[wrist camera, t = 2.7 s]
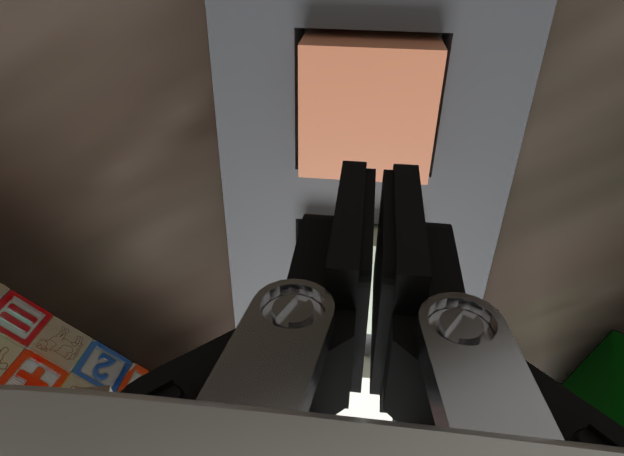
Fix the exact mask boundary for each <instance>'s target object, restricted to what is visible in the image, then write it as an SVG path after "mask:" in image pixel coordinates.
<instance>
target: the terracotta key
mask: <svg viewBox="0 0 624 456" xmlns="http://www.w3.org/2000/svg"><path fill="white" fill-rule="evenodd" d="M447 51H448V50H447V48H446V46H445V44H444V42H443V40H442V38H441V36H440V34H439V33H434V32H405V31H376V30H347V29H318V28H307V30H306V32H305V33H304V35H303V37H302V39H301V40H300V42H299V44H298V177H303V178H320V179H336V180H340V175H341V169H342V163H343V160H344V161H360V162H367V167H366V168H370V169H376V182H382V180H383V171H384V169H386V170H393V165H394V164H409V165H419V172H420V180H421V185H428V178H429V172H430V165H431V158H432V152H433V145H434V138H435V131H436V125H437V118H438V111H439V105H440V98H441V91H442V85H443V78H444V71H445V65H446V58H447Z"/></svg>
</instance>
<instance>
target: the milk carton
mask: <svg viewBox="0 0 624 456" xmlns="http://www.w3.org/2000/svg"><path fill="white" fill-rule="evenodd" d="M562 386H564V387H565V388H567V389H568V390H570V391H571V392H573V393H574V394H576V395H577V396H578V397H580V398H581V399H583V400H584V401H586V402H587V403H589V404H590V405H592V406H593V407H595V408H596V409H598V410H599V411H600V412H602V413H603V414H605V415H606V416H608V417H609V418H611V419H612V420H614V421H615V422H617V423H618V424H620V425H621V426H622V427H624V334H622V333H619V332H616V331H611V333H610V334H609V335H608V336H607V337H606V338H605V339H604V340H603V341H602V342H601V343H600V344H599V345H598V346H597V347H596V349H595V350H594V351H593V352H592V353H591V354H590V355H589V356H588V357H587V358H586V359H585V360H584V361H583V362H582V363H581V365H580V366H579V367H578V368H577V369H576V370H575V371H574V372H573V373H572V374H571V375H570V376H569V377H568V378H567V379H566V381H565V382H564V383H563V384H562Z"/></svg>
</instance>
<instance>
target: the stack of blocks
mask: <svg viewBox="0 0 624 456" xmlns="http://www.w3.org/2000/svg"><path fill="white" fill-rule="evenodd" d="M148 372H150V371H148V370H147V369H145V368H143V367H141V366H140V365H138V364H137V363H132V362H131V361H130V360H128V359H127V358H125V357H123V356H122V355H120V354H118V353H117V352H115V351H113V350H111V349H110V348H108V347H106V346H105V345H103V344H101V343H100V342H98V341H96V340H93V339H92V338H91V337H89V336H88V335H86V334H84V333H82V332H81V331H79V330H77V329H76V328H74V327H72V326H70V325H69V324H67V323H65V322H64V321H62V320H60V319H59V318H57V317H55V316H53V314H52V313H50V312H48V311H47V310H45V309H43V308H42V307H40V306H38V305H36V304H35V303H33V302H31V301H30V300H28V299H26V298H25V297H23V296H21V295H20V294H18V293H16V292H15V291H13V290H11V289H9V288H8V287H7V286H5V285H3V284H2V283H0V385H29V386H45V387H62V388H83V387H94V386H105V385H111V388H112V392H115V391H122V390H123V389H124V388H125V387H126V386H127V385H128V384H129V383H131V382H132V381H134V380H136V379H137V378H139V377H140V376H142V375H144V374H146V373H148Z"/></svg>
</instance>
